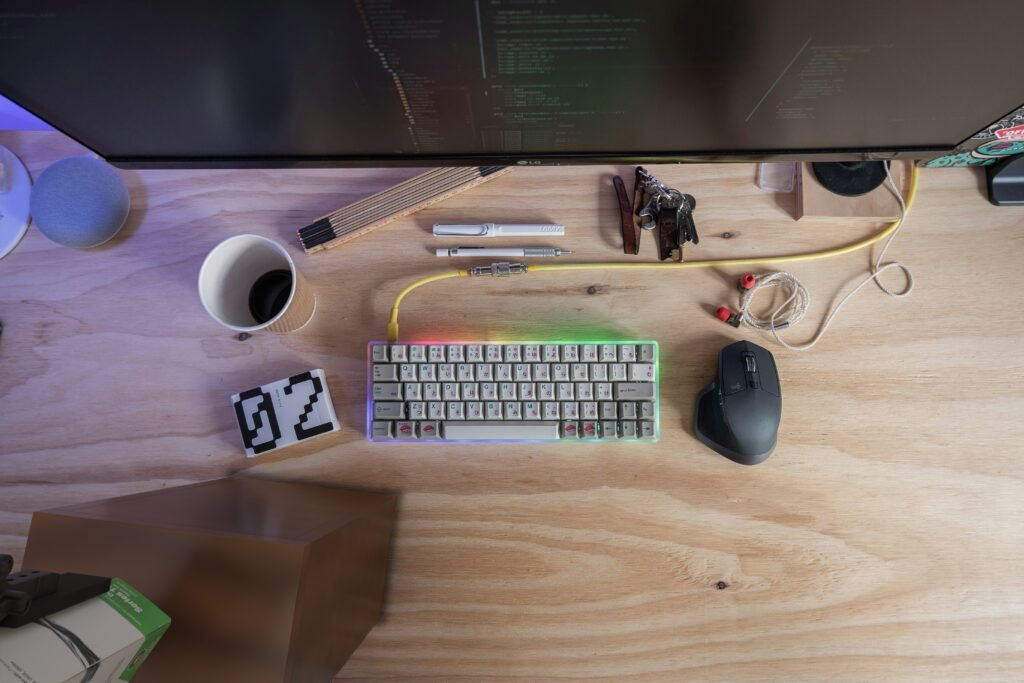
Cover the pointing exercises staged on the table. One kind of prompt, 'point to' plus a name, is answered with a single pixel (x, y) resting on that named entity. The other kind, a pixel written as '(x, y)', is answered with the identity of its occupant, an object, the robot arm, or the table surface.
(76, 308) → the table surface
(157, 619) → the ink box
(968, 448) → the table surface
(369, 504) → the shelf stand
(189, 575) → the shelf
